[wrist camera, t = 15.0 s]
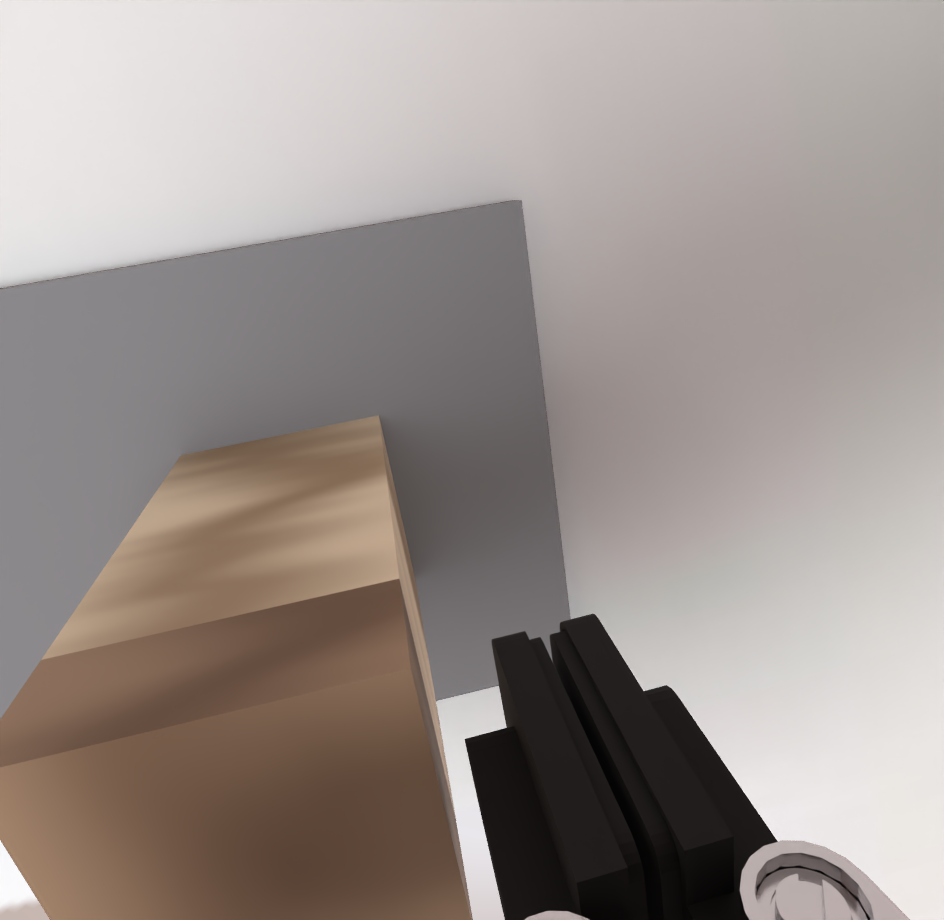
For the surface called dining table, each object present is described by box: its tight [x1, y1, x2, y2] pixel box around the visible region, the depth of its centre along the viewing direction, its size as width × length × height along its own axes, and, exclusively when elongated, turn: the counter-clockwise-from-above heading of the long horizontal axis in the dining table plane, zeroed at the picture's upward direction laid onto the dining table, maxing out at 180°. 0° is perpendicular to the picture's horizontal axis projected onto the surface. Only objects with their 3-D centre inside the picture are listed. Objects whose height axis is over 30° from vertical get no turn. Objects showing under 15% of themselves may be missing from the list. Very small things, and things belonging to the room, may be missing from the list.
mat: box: [0, 200, 570, 719], centre depth 18 cm, size 22×14×1 cm, turn 99°
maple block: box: [0, 415, 473, 920], centre depth 13 cm, size 5×5×10 cm
